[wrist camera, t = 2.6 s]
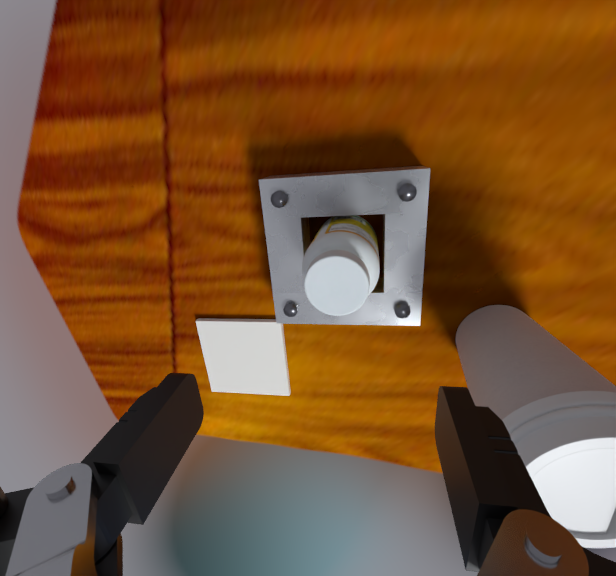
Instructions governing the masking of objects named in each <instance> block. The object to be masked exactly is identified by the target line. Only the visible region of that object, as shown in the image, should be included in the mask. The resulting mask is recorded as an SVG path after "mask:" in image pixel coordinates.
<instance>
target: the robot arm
mask: <svg viewBox="0 0 616 576" xmlns="http://www.w3.org/2000/svg"><path fill="white" fill-rule="evenodd" d="M202 420H203V406H202V402H201V397H200V393H199V389H198V385H197V381H196V378H195V376H194V375H193V374H184V373H170V374H168V375H167V376H166V377H165V379H164V380H163V381H162V382H161V383H160V384H159V386H158V387H154V388H152V389H151V390H149V391H148V392H146V393H145V394H143V395H142V396H141V397H139V398H138V399H137V400H136V402H135V403H134V404H133V405H132V406H131V407H130V408H129V409H128V412H126V413H125V414H124V415H123V416H122V417H121V418H120V419H119V422H118V423H116V424H115V425H114V426H113V427H112V428H111V429H110V431H109V432H108V433H107V434H106V435H105V436H104V437H103V439H102V440H101V441H100V442H99V443H98V444H97V445H96V446H95V447H94V448H93V450H92V451H91V452H90V453H89V454H88V455H87V456H86V457H85V459H84V460H83V461H82V462H81V463H76V464H70V465H67V466H64V467H62V468H60V469H57V470H56V471H54V472H52V473H51V474H49V475H48V476H46V477H45V478H44V479H42V480H41V481H40V482H39V483H38V484H37V485H36V486H35V487H34V488H30V489H25V490H20V491H16V492H10V493H4V492H3V490H2V489H1V487H0V576H123V541H122V535H121V531H122V530H123V528H124V527H125V525H126V524H127V522H128V523H134V524H142V525H143V524H144V522H145V521H146V519H147V517H148V515H149V514H150V512H151V510H152V509H153V507H154V505H155V503H156V502H157V500H158V498H159V497H160V495H161V493H162V491H163V490H164V488H165V486H166V485H167V483H168V481H169V479H170V478H171V476H172V474H173V473H174V471H175V469H176V468H177V466H178V464H179V462H180V461H181V459H182V457H183V456H184V454H185V452H186V450H187V449H188V447H189V445H190V443H191V442H192V440H193V438H194V437H195V435H196V433H197V432H198V430H199V428H200V426H201V424H202ZM435 439H436V446H437V450H438V454H439V459H440V463H441V467H442V471H443V476H444V479H445V484H446V488H447V492H448V497H449V501H450V505H451V509H452V514H453V518H454V522H455V526H456V531H457V535H458V539H459V543H460V547H461V551H462V556H463V560H464V564H465V569H466V570H467V571H474V572H479V573H478V575H477V576H616V562H613V561H611V560H608V559H606V558H603V557H601V556H599V555H597V554H594V553H592V552H591V551H589V550H587V549H585V548H584V547H582V546H581V545H580V544H579V542H578V541H577V540H576V539H575V537H574V536H573V535H572V534H571V533H570V532H569V531H568V530H567V529H566V528H565V527H563V526H562V525H561V524H560V523H558V522H557V521H555V520H554V519H552V517H551V516H550V514H549V513H548V511H547V509H546V507H545V505H544V503H543V501H542V499H541V497H540V495H539V493H538V491H537V489H536V487H535V485H534V483H533V481H532V479H531V477H530V475H529V473H528V471H527V469H526V467H525V465H524V463H523V461H522V459H521V457H520V455H518V450H517V448H516V446H515V444H514V442H513V441H511V436H510V434H509V432H508V430H507V428H506V426H505V424H504V422H503V421H502V420H501V419H500V418H499V417H498V416H497V415H496V414H495V413H494V412H493V411H492V410H491V409H490V408H489V407H483V406H475V404H474V401H473V399H472V397H471V394H470V392H469V390H468V388H466V387H446V386H440V388H439V392H438V401H437V411H436V420H435Z"/></svg>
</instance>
